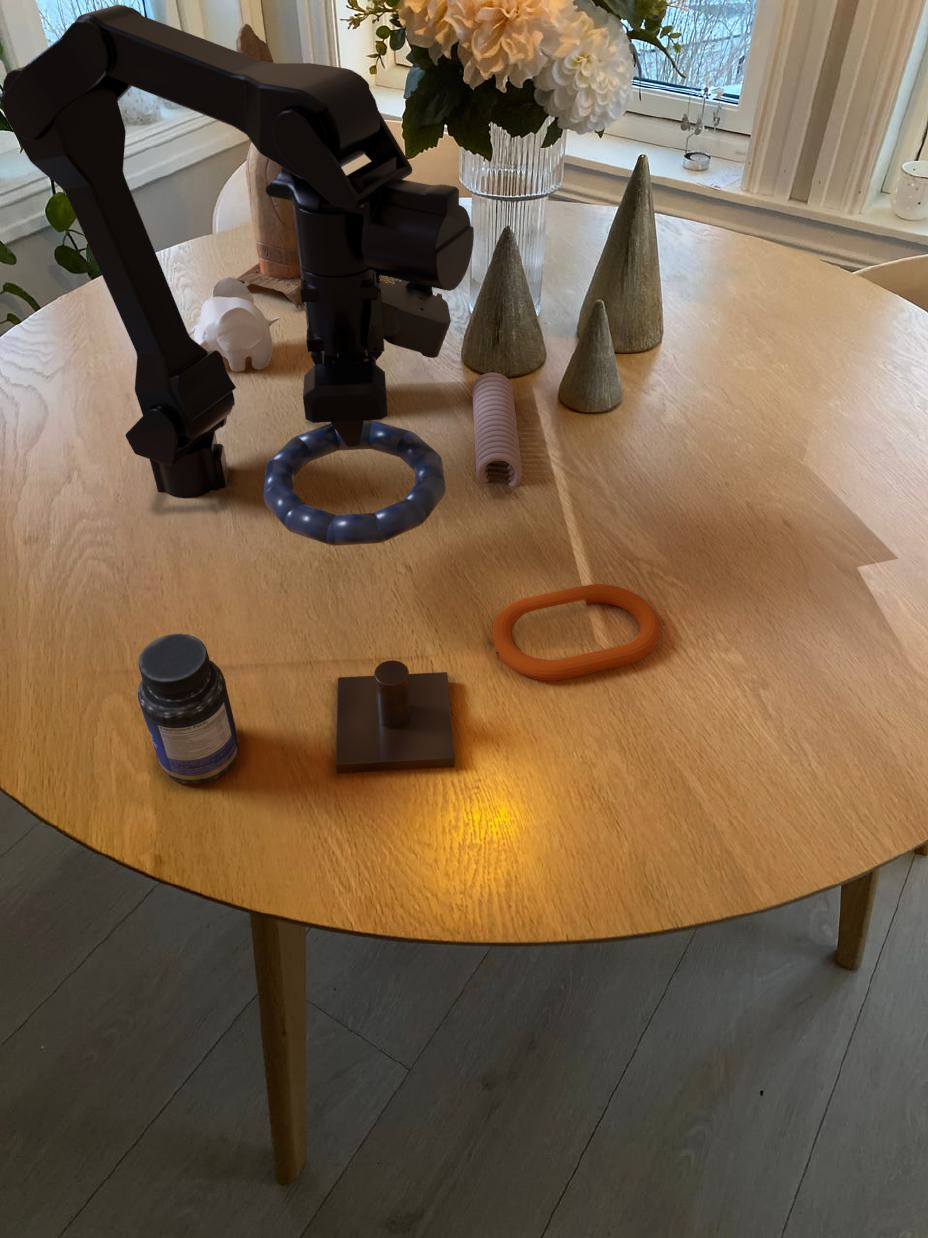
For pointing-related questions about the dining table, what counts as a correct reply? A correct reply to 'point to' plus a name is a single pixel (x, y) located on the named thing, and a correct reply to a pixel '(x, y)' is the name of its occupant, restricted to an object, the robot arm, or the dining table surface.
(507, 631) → the orange oval loop
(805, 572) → the dining table surface
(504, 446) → the coil
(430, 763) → the stand
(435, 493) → the ring
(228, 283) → the elephant figurine
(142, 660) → the pill bottle
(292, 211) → the bird sculpture
